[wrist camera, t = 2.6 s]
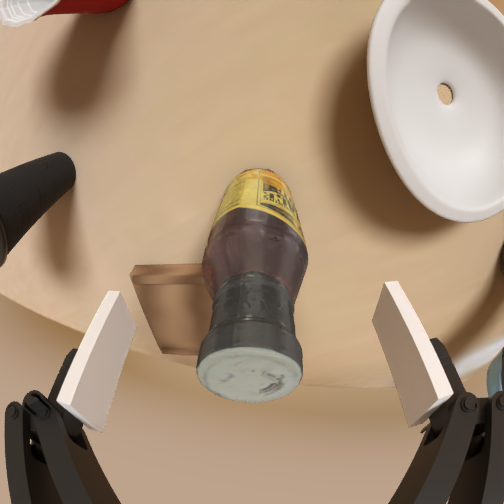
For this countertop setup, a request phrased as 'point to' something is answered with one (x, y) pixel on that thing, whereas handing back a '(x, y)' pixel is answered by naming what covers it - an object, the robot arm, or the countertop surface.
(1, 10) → the plastic cup
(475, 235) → the countertop surface
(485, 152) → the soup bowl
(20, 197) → the drinking cup
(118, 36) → the countertop surface
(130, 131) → the countertop surface
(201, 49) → the countertop surface
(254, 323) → the sauce bottle
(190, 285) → the board
